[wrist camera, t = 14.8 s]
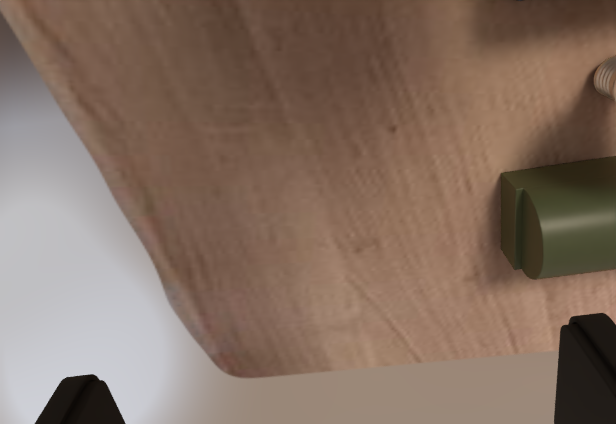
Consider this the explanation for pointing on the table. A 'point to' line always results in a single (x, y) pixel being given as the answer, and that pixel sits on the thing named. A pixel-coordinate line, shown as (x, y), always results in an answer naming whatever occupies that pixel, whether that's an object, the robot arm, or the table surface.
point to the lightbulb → (606, 78)
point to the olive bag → (560, 218)
